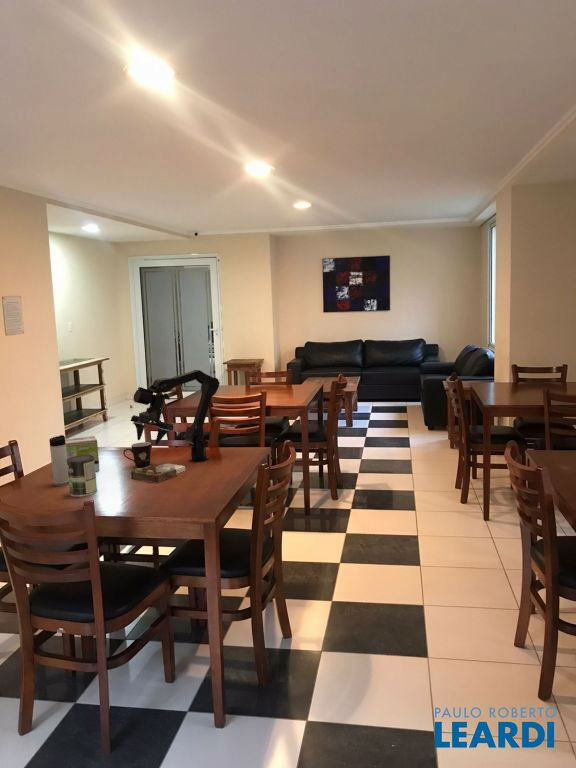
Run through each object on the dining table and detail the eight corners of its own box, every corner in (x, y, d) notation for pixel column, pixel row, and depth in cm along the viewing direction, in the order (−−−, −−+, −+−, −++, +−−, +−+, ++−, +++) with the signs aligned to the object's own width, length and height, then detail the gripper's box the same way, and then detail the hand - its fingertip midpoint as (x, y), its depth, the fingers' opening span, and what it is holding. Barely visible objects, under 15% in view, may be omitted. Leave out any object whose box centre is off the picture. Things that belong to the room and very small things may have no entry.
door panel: (168, 469, 273) (167, 461, 273) (185, 472, 267) (185, 464, 266) (156, 473, 268) (155, 465, 267) (173, 476, 261) (173, 467, 261)
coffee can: (72, 498, 236) (69, 462, 234) (68, 492, 244) (64, 457, 243) (100, 493, 240) (96, 458, 239) (94, 487, 249) (91, 453, 248)
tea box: (64, 477, 268) (61, 443, 266) (62, 471, 277) (59, 439, 275) (100, 471, 274) (97, 439, 272) (97, 466, 283) (94, 435, 281)
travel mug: (73, 481, 259) (68, 435, 257) (63, 486, 253) (58, 438, 251) (61, 481, 261) (56, 434, 259) (50, 485, 255) (45, 438, 253)
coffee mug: (155, 463, 283) (153, 441, 282) (149, 468, 275) (147, 446, 273) (130, 463, 284) (128, 442, 283) (123, 469, 276) (121, 447, 274)
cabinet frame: (151, 471, 268) (150, 462, 268) (176, 476, 259) (175, 465, 259) (131, 478, 259) (130, 468, 259) (156, 483, 250) (155, 472, 250)
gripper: (127, 400, 265) (118, 436, 264) (164, 408, 258) (155, 445, 257) (142, 404, 276) (133, 438, 274) (177, 412, 269) (169, 447, 267)
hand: (147, 442), depth 268 cm, fingers open, 9 cm apart
